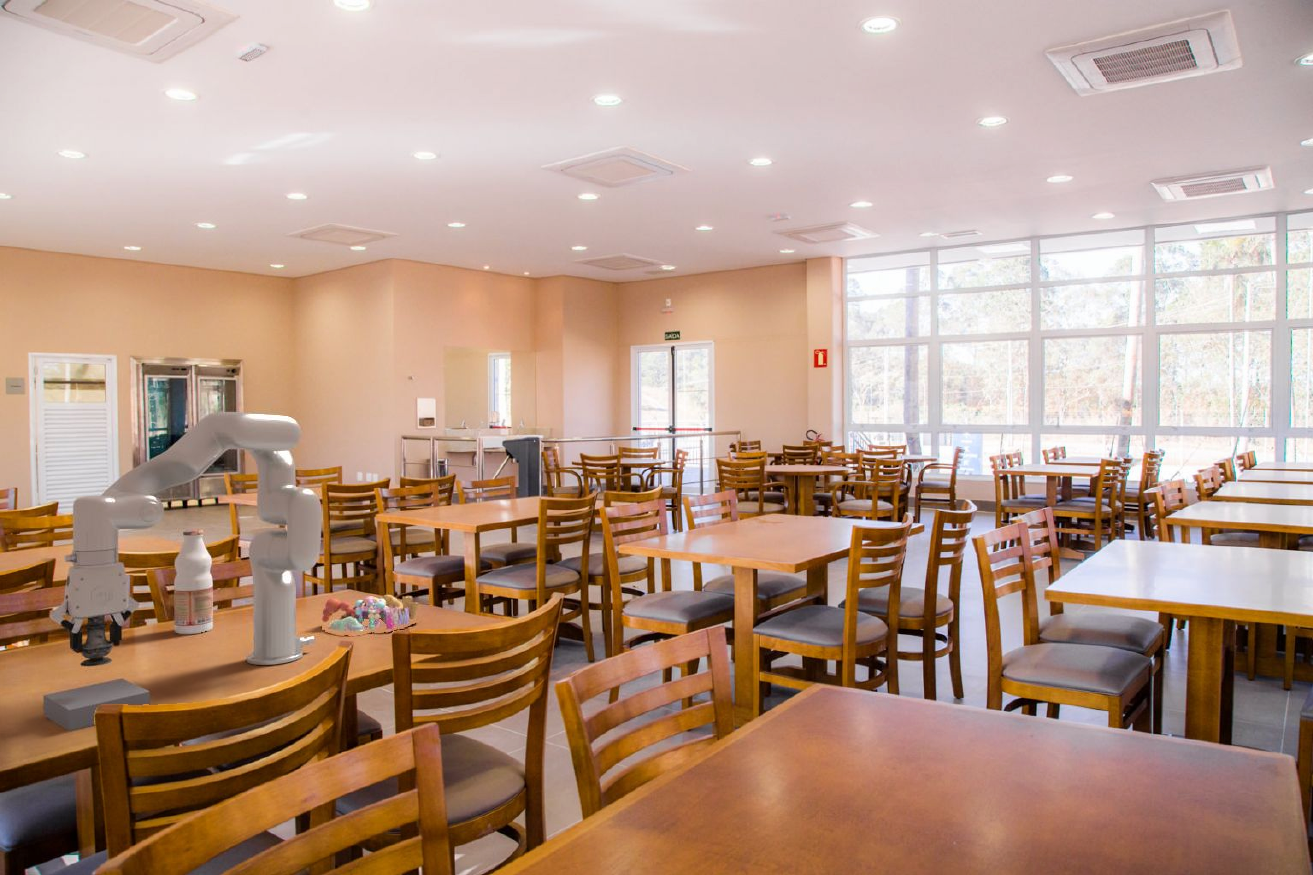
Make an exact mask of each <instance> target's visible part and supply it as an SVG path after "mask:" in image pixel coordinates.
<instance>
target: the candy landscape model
mask: <svg viewBox="0 0 1313 875" xmlns="http://www.w3.org/2000/svg"><path fill="white" fill-rule="evenodd" d="M401 599H402V600H398V599H397V597H395V596H393V595H391V594H383V597H382V598H377V597H375V596H372V595H369V596H366V597H365V598H364V599H363V600H362V599H358V600H356V602H355V604H354V607H350V603H349V602H347V601H342V602H341V601H340V600H339V599H338V598H336V597H335V598H334V597H331V598H329V599H328V600H327V601H326V602H325V605H324V606H325V608H324V609H323V610H322V618H321V620H322V621H323V623H324V622H329V620H330V617H332V616H333V614H336V613H337V612H338V611H339V610H340V611H342V612H345V613H344V614H343V613H342V615H341V616H340V618H339V619H335V620H332V623H330V625H331V626H330V625H329V628H328V629H333V630H338V631H348V630H350V631H363V630H365V628H364V625H363V624H362V622H363V621H364V619H369V622H370V623H369V629H374V627H375V626H376V627H379V626H382V625H381V622H378V621H379V619H381V620H382V621H383V622H384V623H385V624H386V627H387V628H386V629H392V628H394V625H395V627H396V626H397V625H398V626H399V625H403V624H408V621H409V619H413V620H414V617H415V616H416V614H417V612H418V605H419V602H417V601H416V602H413V596H412V595H406V596H402V598H401ZM411 602H412V603H411ZM380 617H381V618H380ZM376 620H377V621H376ZM403 620H404V621H403ZM375 622H376V623H375ZM374 623H375V626H374ZM365 627H366V628H367V627H368V626H365Z"/></svg>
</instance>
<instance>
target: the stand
mask: <svg viewBox="0 0 1313 875" xmlns="http://www.w3.org/2000/svg"><path fill="white" fill-rule="evenodd" d="M101 704H128V705H143V704H150V705H151V691H149V690H148V689H145V688H144V687H141V686H139V685H137V684H134V683H133V682H130V681H128V680H126V679H124V678H117V679H112V680H108V681H104V682H99V683H94V684H89V685H85V686H81V687H76V688H75V687H74V688H71V689H67V690H61V691H58V692H57V691H56V692H51V693H48V694H43V716H44V717H45V718H47V719H48V720H51V721H53V722H54V723H55V724H57V725H58V726H61V728H64V729H65V730H67V731H68V732H72V731H75V730H80V729H83V728H88V727H92V726H95V725H94V713H95V710H96V708H97V707H98V706H99V705H101Z"/></svg>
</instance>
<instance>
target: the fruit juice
mask: <svg viewBox="0 0 1313 875" xmlns="http://www.w3.org/2000/svg"><path fill="white" fill-rule="evenodd" d="M182 535H183V538H184V539H183V541H182V545H181V547H180V550H179V553H178V554H177V556H176V558H175V559H174V568H175V571H176V575H175V577H174V582H173V583H174V584H173V589H174V590H173V594H174V595H173V598H174V599H173V602H174V603H173V607H174V609H173V610H174V612H173V613H174V620H173V621H174V633H175V634H177V633H178V635H194V634H195V635H196V634H201V632H203V633H206V632H205V631H207V632H210V631H211V630H213V626H214V614H213V612H214V607H213V606H214V604H213V603H214V599H213V597H214V596H213V595H214V594H213V592H214V590H213V589H214V587H213V586H214V584H213V576H212V574H211V568H212V564H213V560H212V556H211V555H210V552H209V551H208V548H206V544H205V542H204V539H203V536H204V530H203V529H186V530H183V533H182Z"/></svg>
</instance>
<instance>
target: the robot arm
mask: <svg viewBox="0 0 1313 875" xmlns="http://www.w3.org/2000/svg"><path fill="white" fill-rule="evenodd" d="M301 439H302V430H301V427H300V424H299V423H298V422H297V421H296V420H295V418H292V417H290V416H287V415H276V414H266V413H265V414H262V413H254V412H253V413H252V412H243V411H217V412H212V413H209V414H207V415H205V416H204V417H202V418H201V419H200V420H199V421H198V422H197V423H196V424H195V425H193V426H191V428H190V429H189V430H188V431H186V433H185V434H184V435H183V436H181V438H179V439H178V440H177V441H176V442H175V443H173V444H172V446H170V447H169V448H168V449H167V450H165V451H164V452H162V453H160V454H159V455H156V456H154V457H152V458H151V459H149V460H147V461H145V462H144V463H141V464H139V465H138V466H136V467H134V468H133V469H131V470H129V471H128V472H126V473H125V474H124V475H121V476H120V477H119V478H118V479H117V480H116V481H115V482H114V483H112V484H111V485H110V486H108V488H107V489H105V491H103V493H102V494H101V495H89V496H88V495H87V496H81V497H78V498H76V499H75V500H74V502H73V505H72V541H73V542H72V551H71V553H70V554H68V555H67V554H66V555H64V562H65V563H71V564H72V566H69V569H68V570H67V571H68V572H67V576H66V582H65V589H64V600H63V601H62V603H61V604H60V605H59V606H57V608H56V609H55V610H54V611H53V612H52V613H51V614H50V615H49V618H50V619H51V620H52V621H54V622H56V623H57V624H58V625H60V626H61V627H63V628H64V629H65V630H67V631H69V648H70V649H71V650H72V652H74V653H77V654H81V652H82V644H83V632H82V631H81V627H82V624H83V621H84V619H88V618H91V617H97V616H104V615H105V616H109V617H110V619H111V624H110V625H109V641H112V642H113V643H114V644H113V645H112V646H114V647H119V646H120V644H121V643H120V641H122V639H123V638H122V637H123V636H122V634H123V633H122V632H123V631H122V630H123V625H125V622H126V621H127V620H128V619H129V618H130V617H131V615H132V613H134V612H135V611H136V610H137V609H138V608H139V607H140V603H139V602H138V601H137V600H135V599H134V598H133V597H132V596H130V595H129V589H128V582H127V581H128V580H127V574H126V568H125V565H124V562H121V561H120V562H119V531H120V530H146V529H150V528H152V527H154V526H156V525H157V524H159V522H160V521H161V520H162V519H163V517H164V514H165V508H164V507H165V506H164V504H163V503H162V501H161V500H160V498H158V497H157V496H155V495H156V494H157V493H159V492H162V491H164V490H166V489H170V488H174V487H176V486H181V485H183V484H187V483H189V482H193V481H194V480H196V479H198V478H199V477H200V476H201V475H202V474H203V473H205V471H207V470H208V469H209V467H210V466H212V465H213V464H214V462H216V461H217V460H218V459H219V458H220V457H221V456H222V455H223V454H224V453H226V451H228V450H246V451H247V452H248V453H250V456H252V458H253V460H254V461H255V464H256V467H257V490H256V491H257V492H256V493H257V494H256V495H257V499H256V513H257V517H258V518H259V520H260V521H262V522H263V523H264V524H265V523H266V524H269V525H275V526H286V530H280V529H268V530H267V529H266V530H264V531H260V532H259V533H257V534H256V535H255V536H254V537H253V538H252V539H251V541H250V543H249V546H248V547H249V548H248V559H249V563H250V566H251V567H250V568H251V573H252V583H253V584H252V585H253V586H252V587H253V597H252V599H253V600H252V601H253V604H252V605H253V651H252V652H250V653H248V654H247V655H246V662H247V663H248V664H252V665H260V666H269V665H272V666H273V665H281V664H285V663H290V662H294V661H296V660H298V659H301V658H302V656H303V655H304V653H303V649H302V648H303V647H304V646H309V645H314V644H315V642H316V640H315V637H314V636H307V637H304V636H300V637H299V636H297V622H296V621H297V616H296V615H297V613H296V610H297V608H296V607H297V606H296V605H297V601H296V600H297V598H296V596H297V586H296V580H295V577H294V573H293V572H295V573H300V572H301V573H302V572H306V571H309V570H311V569H313V568H314V567H315V565H316V564H317V562H318V559H319V557H320V554H321V545H322V544H321V542H322V541H321V538H322V516H323V515H322V511H323V510H322V504H321V501H320V498H319V496H318V495H317V493H316V492H314V490H312V489H310V488H307V487H303V486H302V487H301V486H296V480H297V479H296V463H295V459H294V458H293V455H292V453H291V450H293V449H294V448H296V447H297V445H299V442H300V441H301ZM64 614H65V615H66V616H71V618H70V620H67V619H66V618H64V617H63V616H64Z"/></svg>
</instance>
